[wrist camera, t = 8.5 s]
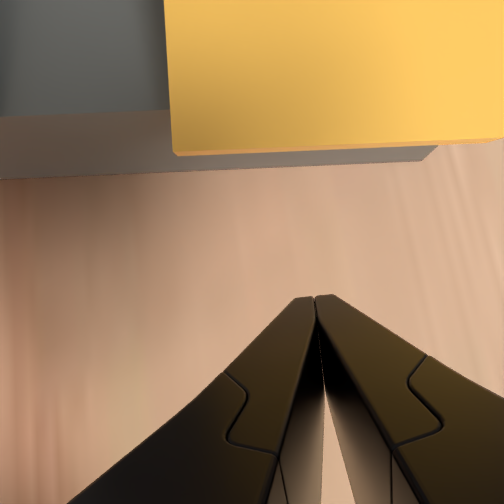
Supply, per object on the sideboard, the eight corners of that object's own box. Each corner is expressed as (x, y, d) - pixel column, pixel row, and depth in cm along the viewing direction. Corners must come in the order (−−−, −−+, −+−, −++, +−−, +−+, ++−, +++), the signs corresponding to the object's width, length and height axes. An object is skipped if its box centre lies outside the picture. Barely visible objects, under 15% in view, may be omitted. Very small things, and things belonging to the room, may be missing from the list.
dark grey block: (421, 161, 23) (508, 81, 16) (-154, 186, 23) (-364, 118, 15) (405, 5, 25) (477, -142, 17) (-141, 27, 24) (-328, -112, 17)
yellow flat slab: (485, 142, 17) (504, 137, 15) (177, 156, 17) (172, 151, 15) (486, -144, 16) (505, -173, 15) (161, -132, 16) (154, -160, 15)
